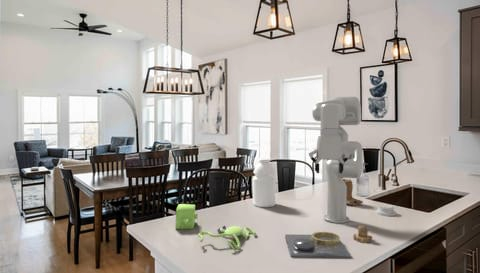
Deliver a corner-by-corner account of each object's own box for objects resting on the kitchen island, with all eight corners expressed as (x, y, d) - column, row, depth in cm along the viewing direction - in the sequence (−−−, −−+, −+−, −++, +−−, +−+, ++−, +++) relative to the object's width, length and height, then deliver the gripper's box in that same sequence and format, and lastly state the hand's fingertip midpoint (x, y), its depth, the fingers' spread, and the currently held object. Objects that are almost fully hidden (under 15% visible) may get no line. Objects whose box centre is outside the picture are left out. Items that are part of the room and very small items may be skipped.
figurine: (192, 248, 133) (192, 235, 133) (223, 228, 157) (223, 217, 157) (233, 256, 125) (233, 242, 125) (259, 234, 149) (259, 222, 149)
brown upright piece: (331, 201, 208) (331, 178, 207) (346, 199, 212) (346, 176, 211) (347, 207, 194) (347, 182, 193) (363, 205, 198) (363, 180, 197)
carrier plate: (285, 237, 143) (285, 229, 143) (336, 238, 143) (336, 230, 143) (290, 256, 124) (290, 247, 123) (349, 257, 123) (350, 248, 123)
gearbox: (195, 233, 152) (196, 213, 151) (174, 232, 151) (174, 212, 150) (198, 220, 170) (198, 202, 169) (178, 220, 169) (179, 201, 168)
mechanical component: (399, 216, 176) (390, 211, 186) (400, 208, 175) (390, 203, 185) (381, 216, 175) (373, 211, 185) (381, 208, 175) (373, 203, 185)
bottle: (263, 200, 210) (263, 157, 209) (280, 204, 200) (280, 158, 199) (248, 204, 201) (247, 158, 200) (264, 208, 191) (264, 160, 189)
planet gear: (351, 236, 145) (351, 224, 145) (368, 236, 145) (368, 224, 145) (356, 242, 138) (356, 229, 137) (374, 242, 137) (374, 229, 137)
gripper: (347, 132, 143) (346, 171, 144) (307, 132, 144) (307, 171, 145) (352, 133, 136) (352, 174, 136) (310, 133, 136) (310, 174, 137)
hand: (329, 172), depth 141 cm, fingers open, 9 cm apart
